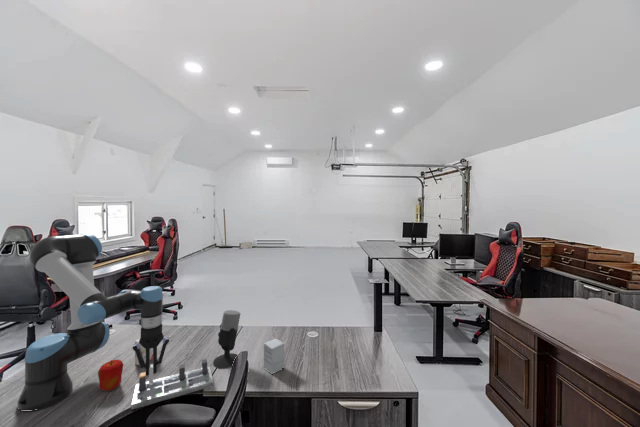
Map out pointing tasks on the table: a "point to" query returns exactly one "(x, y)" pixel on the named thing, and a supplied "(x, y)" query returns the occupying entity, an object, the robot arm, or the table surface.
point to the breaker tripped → (142, 382)
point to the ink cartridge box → (143, 353)
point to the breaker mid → (181, 372)
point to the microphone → (227, 339)
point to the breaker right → (204, 367)
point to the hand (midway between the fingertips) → (151, 381)
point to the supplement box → (274, 355)
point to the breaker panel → (171, 387)
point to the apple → (110, 375)
